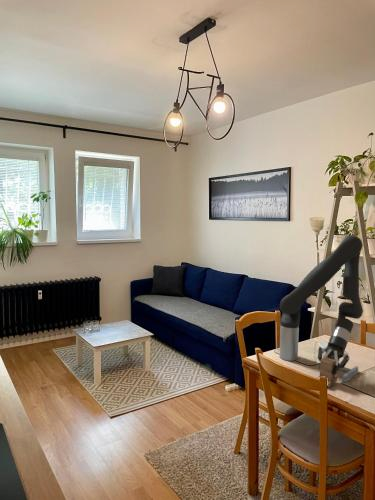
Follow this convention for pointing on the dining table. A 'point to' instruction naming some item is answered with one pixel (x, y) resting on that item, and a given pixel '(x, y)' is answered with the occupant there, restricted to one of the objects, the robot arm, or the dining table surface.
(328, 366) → the walnut block
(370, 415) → the dining table surface
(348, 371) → the channel
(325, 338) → the dining table surface
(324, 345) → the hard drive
